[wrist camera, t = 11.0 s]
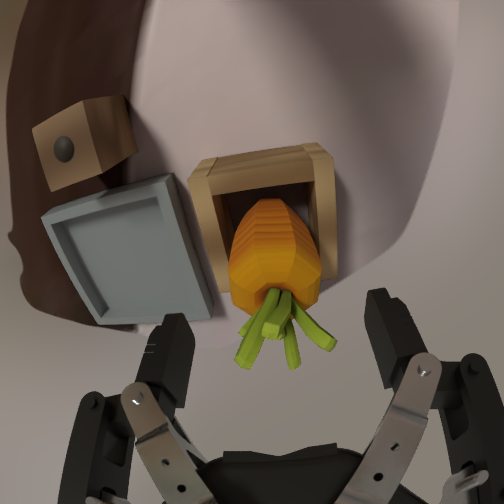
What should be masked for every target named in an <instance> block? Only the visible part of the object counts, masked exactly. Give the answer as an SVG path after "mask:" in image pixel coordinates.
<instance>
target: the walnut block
mask: <svg viewBox="0 0 504 504" xmlns="http://www.w3.org/2000/svg"><path fill="white" fill-rule="evenodd" d="M32 132H33V136H34V139H35V143H36V147H37V150H38V154H39V157H40V160H41V163H42V167H43V170H44V173H45V176H46V179H47V181H48V184H49V187H50V190H51V192H53V191H55V190H58V189H60V188H63V187H65V186H68V185H71V184H73V183H76V182H79V181H81V180H84V179H87V178H90V177H93V176H96V175H99V174H102V173H104V172H105V171H107V170H108V169H110V168H111V167H113V166H114V165H116V164H118V163H119V162H121V161H122V160H124V159H126V158H127V157H129V156H131V155H132V154H134V153H136V152H137V151H138V150H137V147H136V143H135V139H134V136H133V132H132V128H131V124H130V120H129V116H128V112H127V108H126V104H125V99H124V95H116V96H108V97H101V98H94V99H88V100H82V101H80V102H78V103H76V104H74V105H73V106H71V107H69V108H67V109H65V110H63V111H61V112H60V113H58V114H56V115H54V116H52V117H51V118H49V119H47V120H46V121H44V122H42V123H41V124H39V125H37V126H36V127H34V128H33V129H32Z"/></svg>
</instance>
